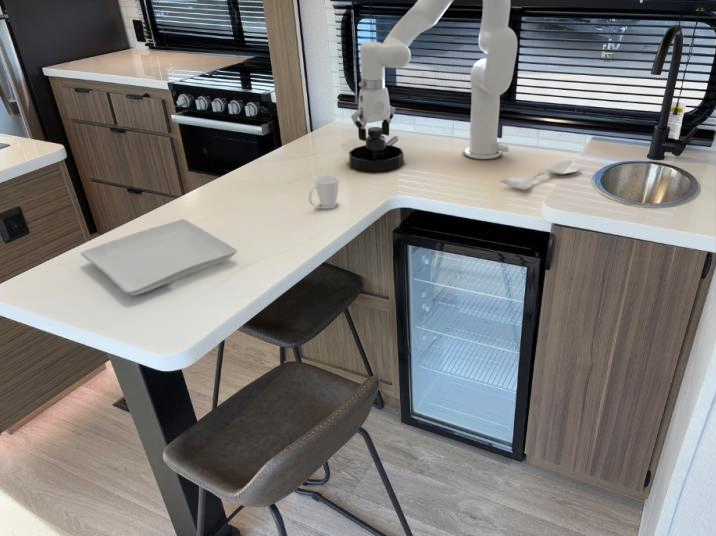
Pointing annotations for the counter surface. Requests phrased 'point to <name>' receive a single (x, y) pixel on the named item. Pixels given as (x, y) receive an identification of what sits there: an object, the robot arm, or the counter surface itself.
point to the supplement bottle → (375, 145)
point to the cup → (326, 191)
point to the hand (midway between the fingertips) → (374, 137)
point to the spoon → (556, 168)
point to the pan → (391, 163)
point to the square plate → (158, 256)
